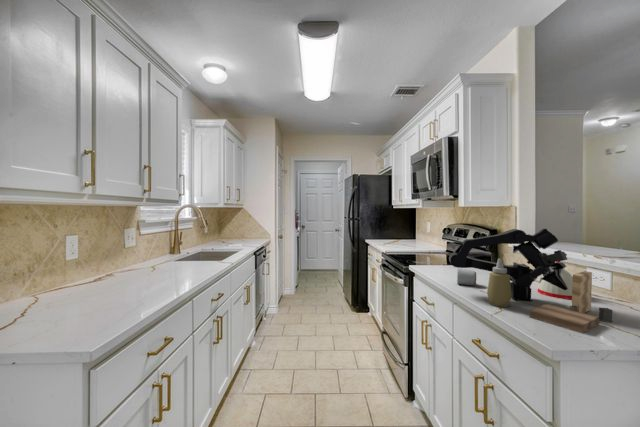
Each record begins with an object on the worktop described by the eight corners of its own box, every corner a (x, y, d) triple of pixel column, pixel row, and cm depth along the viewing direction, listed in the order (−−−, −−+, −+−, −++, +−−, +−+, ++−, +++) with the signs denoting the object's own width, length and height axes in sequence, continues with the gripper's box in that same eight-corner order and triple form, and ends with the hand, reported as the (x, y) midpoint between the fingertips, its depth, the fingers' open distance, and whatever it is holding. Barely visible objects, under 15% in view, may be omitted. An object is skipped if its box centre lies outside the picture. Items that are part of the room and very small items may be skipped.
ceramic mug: (476, 287, 133) (477, 271, 133) (457, 285, 136) (457, 269, 136) (474, 282, 142) (474, 267, 142) (456, 280, 146) (456, 265, 146)
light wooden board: (576, 316, 97) (577, 276, 97) (568, 314, 99) (570, 275, 98) (590, 309, 104) (592, 272, 103) (583, 308, 105) (584, 271, 105)
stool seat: (582, 333, 85) (583, 325, 85) (529, 317, 97) (529, 310, 97) (598, 324, 91) (598, 317, 91) (546, 310, 103) (547, 303, 103)
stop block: (603, 321, 94) (604, 309, 94) (598, 319, 96) (599, 307, 96) (612, 321, 94) (612, 310, 93) (606, 319, 95) (607, 307, 95)
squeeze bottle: (512, 310, 104) (513, 261, 103) (486, 305, 108) (487, 259, 108) (511, 303, 111) (512, 258, 110) (487, 300, 115) (488, 256, 114)
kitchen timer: (534, 293, 124) (535, 260, 124) (541, 287, 133) (542, 256, 133) (576, 301, 114) (577, 265, 113) (581, 295, 123) (582, 261, 122)
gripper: (540, 244, 104) (577, 281, 95) (561, 242, 114) (596, 275, 105) (515, 261, 111) (548, 297, 102) (537, 258, 121) (568, 290, 112)
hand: (566, 289), depth 105 cm, fingers closed
